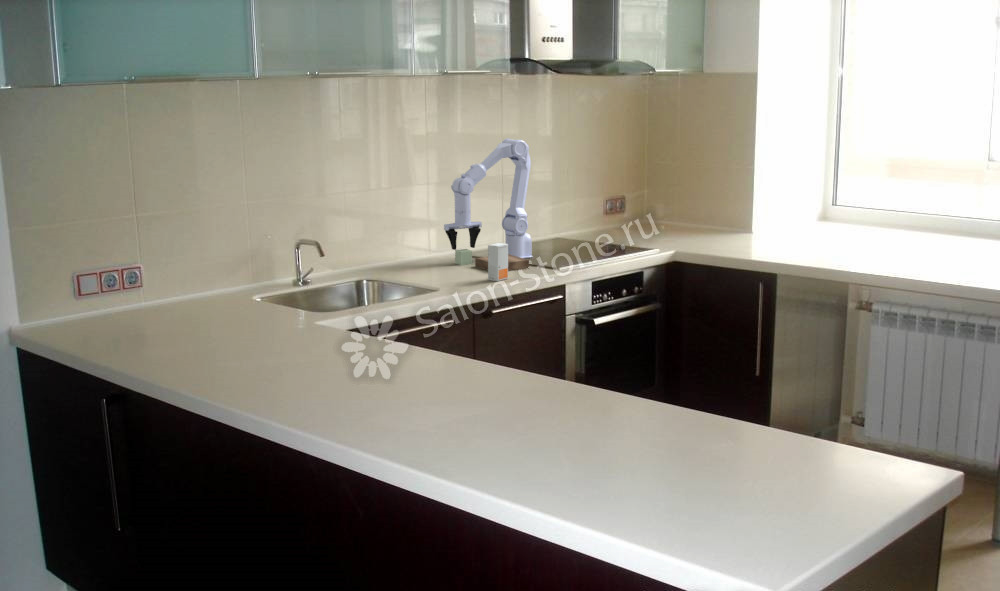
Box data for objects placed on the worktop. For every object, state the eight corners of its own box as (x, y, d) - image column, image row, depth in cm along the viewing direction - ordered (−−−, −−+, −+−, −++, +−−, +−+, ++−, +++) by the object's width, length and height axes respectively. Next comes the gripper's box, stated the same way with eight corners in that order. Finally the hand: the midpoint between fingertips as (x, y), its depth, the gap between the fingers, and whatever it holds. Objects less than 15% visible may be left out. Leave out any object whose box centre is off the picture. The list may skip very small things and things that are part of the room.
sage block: (466, 262, 367) (466, 248, 366) (472, 264, 363) (471, 250, 362) (455, 263, 365) (455, 250, 364) (461, 265, 361) (460, 251, 360)
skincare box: (497, 281, 332) (497, 246, 329) (487, 280, 334) (487, 245, 331) (508, 278, 336) (508, 243, 334) (498, 277, 339) (498, 242, 336)
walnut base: (508, 262, 366) (508, 254, 365) (528, 268, 354) (528, 260, 353) (475, 266, 359) (475, 258, 358) (494, 272, 347) (494, 264, 346)
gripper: (450, 214, 353) (450, 251, 356) (485, 211, 360) (486, 248, 363) (440, 211, 359) (441, 249, 362) (476, 208, 366) (476, 245, 369)
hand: (463, 248), depth 363 cm, fingers open, 7 cm apart
